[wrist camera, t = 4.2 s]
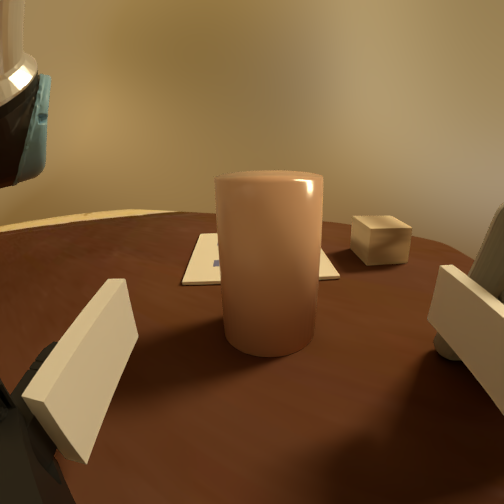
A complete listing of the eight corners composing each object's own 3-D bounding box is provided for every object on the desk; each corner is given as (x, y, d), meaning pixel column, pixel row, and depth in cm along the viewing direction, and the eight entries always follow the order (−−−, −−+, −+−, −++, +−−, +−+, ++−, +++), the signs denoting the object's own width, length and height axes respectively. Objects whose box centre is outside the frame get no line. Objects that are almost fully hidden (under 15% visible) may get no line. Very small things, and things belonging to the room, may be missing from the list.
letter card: (182, 284, 27) (181, 281, 26) (200, 236, 40) (200, 233, 40) (339, 278, 27) (340, 275, 27) (308, 232, 40) (308, 230, 40)
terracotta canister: (222, 359, 17) (209, 185, 14) (226, 307, 23) (218, 171, 19) (323, 353, 18) (337, 182, 14) (305, 304, 23) (309, 170, 20)
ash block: (366, 266, 30) (370, 228, 28) (349, 249, 34) (352, 215, 33) (407, 263, 30) (412, 227, 28) (387, 248, 35) (390, 215, 33)
